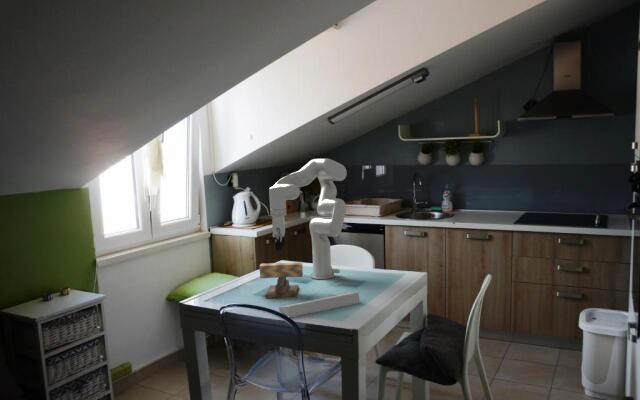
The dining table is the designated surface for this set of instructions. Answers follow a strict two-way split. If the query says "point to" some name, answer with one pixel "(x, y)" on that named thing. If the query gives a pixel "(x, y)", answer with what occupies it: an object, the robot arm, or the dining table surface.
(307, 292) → the dining table surface
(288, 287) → the ridge stand
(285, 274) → the wooden block
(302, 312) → the decorative molding
